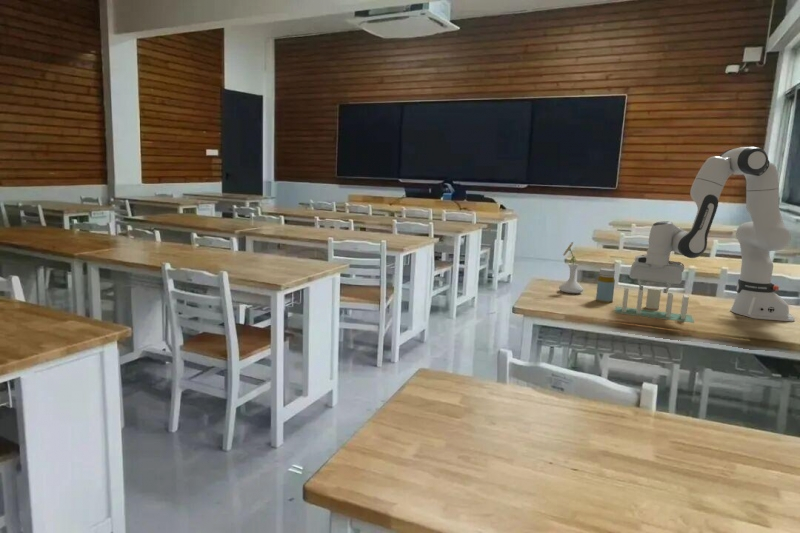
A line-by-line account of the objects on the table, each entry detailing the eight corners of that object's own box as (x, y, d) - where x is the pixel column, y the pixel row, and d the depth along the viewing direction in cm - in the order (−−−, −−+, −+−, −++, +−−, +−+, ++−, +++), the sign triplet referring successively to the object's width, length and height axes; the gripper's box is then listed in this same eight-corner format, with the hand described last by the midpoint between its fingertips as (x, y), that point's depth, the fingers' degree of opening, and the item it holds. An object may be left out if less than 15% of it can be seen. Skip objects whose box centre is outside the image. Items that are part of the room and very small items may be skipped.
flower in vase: (565, 288, 263) (569, 238, 259) (587, 292, 256) (592, 241, 251) (552, 292, 254) (557, 240, 250) (574, 296, 246) (579, 243, 242)
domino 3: (669, 314, 217) (672, 293, 216) (670, 317, 213) (673, 295, 211) (665, 314, 218) (668, 292, 216) (666, 317, 213) (668, 295, 212)
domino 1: (640, 311, 221) (642, 290, 220) (640, 313, 217) (643, 292, 215) (636, 310, 222) (638, 289, 220) (636, 313, 218) (638, 292, 216)
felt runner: (691, 316, 217) (691, 315, 217) (694, 324, 206) (694, 322, 206) (615, 307, 229) (615, 306, 228) (614, 313, 218) (614, 312, 218)
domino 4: (684, 316, 215) (687, 295, 213) (685, 319, 211) (688, 297, 209) (680, 316, 216) (683, 294, 214) (681, 318, 211) (684, 297, 210)
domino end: (626, 309, 224) (628, 288, 222) (626, 312, 219) (628, 290, 217) (622, 308, 224) (624, 288, 223) (621, 311, 220) (624, 290, 218)
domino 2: (645, 308, 229) (647, 288, 228) (658, 309, 227) (660, 289, 226) (645, 309, 228) (648, 288, 226) (658, 310, 226) (660, 290, 224)
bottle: (592, 300, 239) (595, 268, 237) (604, 299, 242) (607, 267, 240) (603, 304, 233) (607, 271, 231) (615, 303, 236) (619, 270, 233)
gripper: (684, 261, 222) (679, 293, 225) (631, 256, 230) (627, 286, 233) (685, 263, 217) (680, 296, 219) (631, 257, 225) (627, 289, 227)
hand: (652, 291), depth 226 cm, fingers open, 8 cm apart
